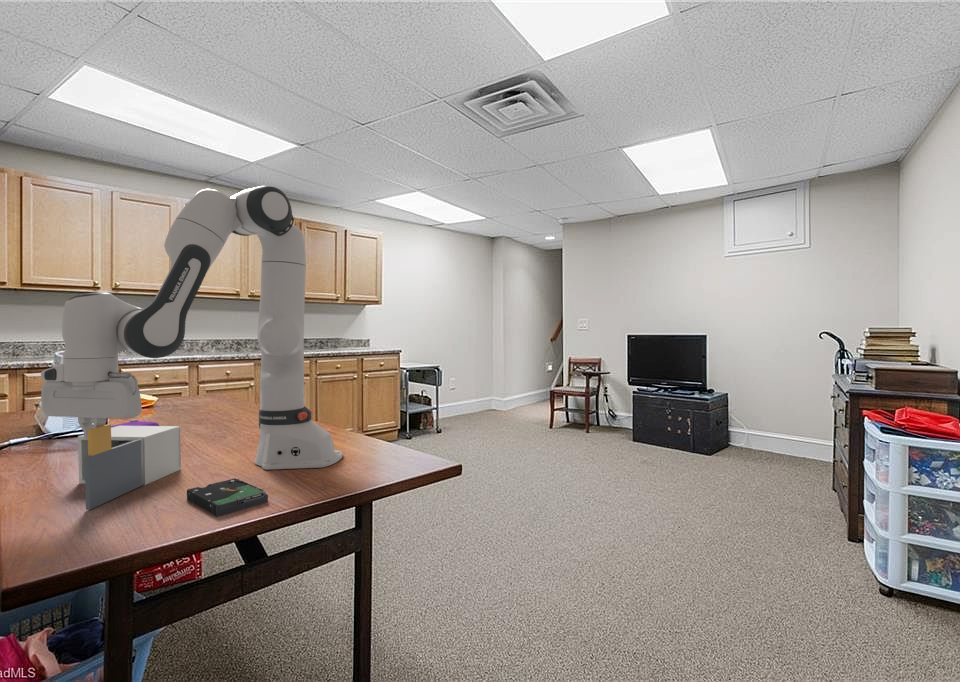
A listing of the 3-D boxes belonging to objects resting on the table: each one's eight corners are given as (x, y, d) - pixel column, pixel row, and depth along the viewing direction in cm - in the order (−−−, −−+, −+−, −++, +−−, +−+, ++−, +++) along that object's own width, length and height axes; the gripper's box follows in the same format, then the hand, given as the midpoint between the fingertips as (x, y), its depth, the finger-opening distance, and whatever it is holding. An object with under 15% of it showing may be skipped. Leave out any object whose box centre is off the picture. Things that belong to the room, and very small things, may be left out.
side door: (140, 484, 111) (138, 415, 110) (144, 484, 111) (143, 415, 110) (85, 509, 96) (83, 430, 95) (90, 509, 96) (88, 430, 95)
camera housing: (183, 468, 124) (182, 425, 124) (145, 484, 111) (144, 437, 111) (123, 467, 125) (122, 424, 125) (79, 483, 112) (77, 436, 112)
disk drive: (185, 503, 102) (217, 519, 92) (185, 489, 102) (217, 504, 92) (235, 489, 110) (269, 503, 101) (235, 477, 110) (269, 490, 101)
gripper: (149, 371, 101) (150, 437, 101) (64, 369, 104) (66, 433, 104) (122, 374, 94) (123, 444, 95) (33, 372, 97) (34, 440, 98)
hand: (92, 439), depth 99 cm, fingers closed
